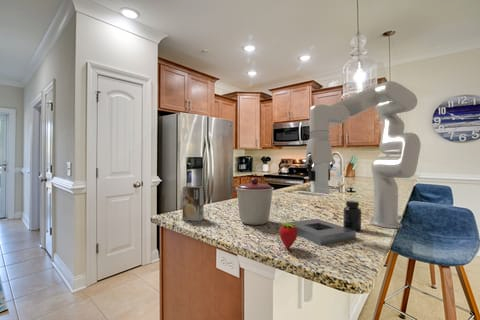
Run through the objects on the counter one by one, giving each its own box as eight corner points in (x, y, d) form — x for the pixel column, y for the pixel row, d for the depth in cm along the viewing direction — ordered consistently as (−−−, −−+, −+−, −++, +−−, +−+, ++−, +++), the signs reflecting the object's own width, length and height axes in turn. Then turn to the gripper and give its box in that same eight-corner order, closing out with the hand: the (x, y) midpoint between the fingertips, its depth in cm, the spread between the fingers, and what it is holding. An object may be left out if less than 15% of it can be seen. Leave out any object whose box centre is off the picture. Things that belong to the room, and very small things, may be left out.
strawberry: (296, 245, 80) (296, 216, 80) (298, 253, 72) (298, 221, 72) (279, 244, 81) (279, 215, 81) (278, 252, 73) (279, 220, 74)
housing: (317, 225, 106) (317, 218, 106) (355, 238, 88) (355, 230, 88) (285, 229, 98) (285, 222, 98) (320, 245, 80) (320, 236, 80)
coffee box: (204, 218, 117) (204, 186, 117) (199, 221, 111) (200, 187, 111) (186, 217, 118) (187, 185, 119) (181, 220, 112) (182, 187, 112)
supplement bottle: (363, 232, 96) (363, 203, 96) (345, 231, 97) (345, 202, 97) (358, 227, 102) (358, 200, 102) (341, 226, 104) (341, 199, 104)
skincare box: (325, 191, 95) (325, 162, 95) (329, 193, 91) (329, 162, 91) (310, 191, 95) (310, 162, 95) (313, 193, 91) (313, 162, 91)
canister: (238, 217, 120) (238, 176, 120) (273, 218, 118) (273, 177, 118) (232, 226, 102) (232, 178, 102) (273, 228, 100) (274, 179, 100)
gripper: (328, 138, 100) (328, 179, 100) (296, 136, 93) (295, 180, 93) (342, 136, 94) (342, 180, 93) (309, 134, 86) (309, 182, 86)
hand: (319, 180), depth 93 cm, fingers closed on skincare box, 7 cm apart
